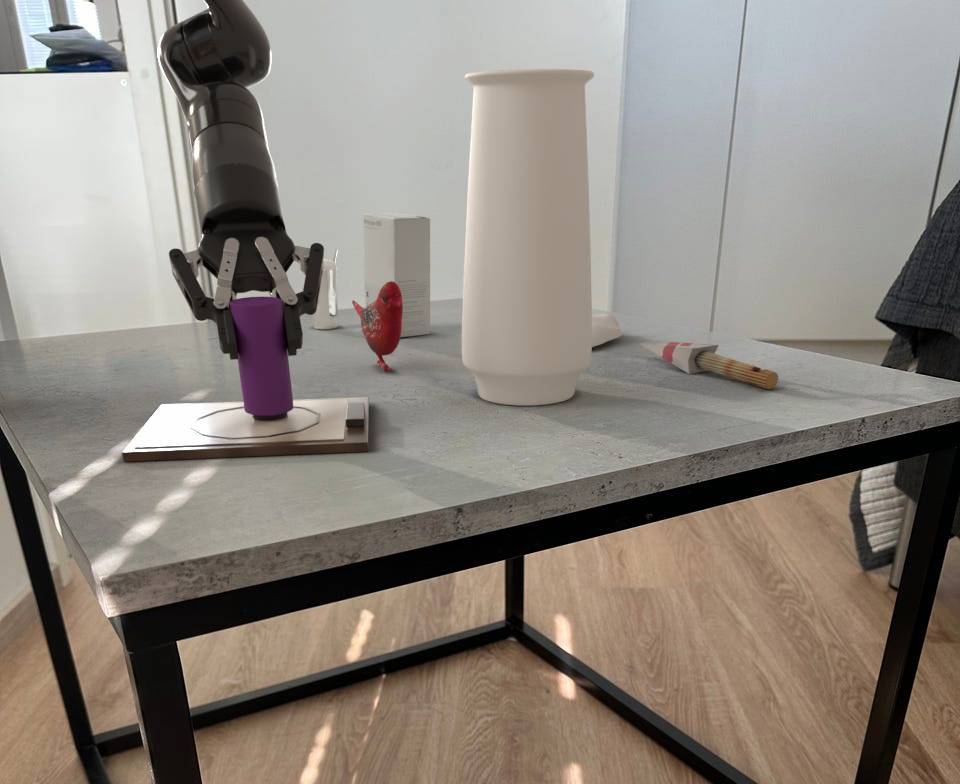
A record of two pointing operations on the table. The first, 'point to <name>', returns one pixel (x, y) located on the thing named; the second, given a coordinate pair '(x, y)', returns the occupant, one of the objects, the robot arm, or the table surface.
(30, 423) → the table surface
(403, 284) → the cosmetic box
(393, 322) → the decorative bird figurine
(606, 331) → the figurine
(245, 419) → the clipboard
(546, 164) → the vase
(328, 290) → the milkshake
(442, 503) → the table surface
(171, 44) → the robot arm
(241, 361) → the dot marker
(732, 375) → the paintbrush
